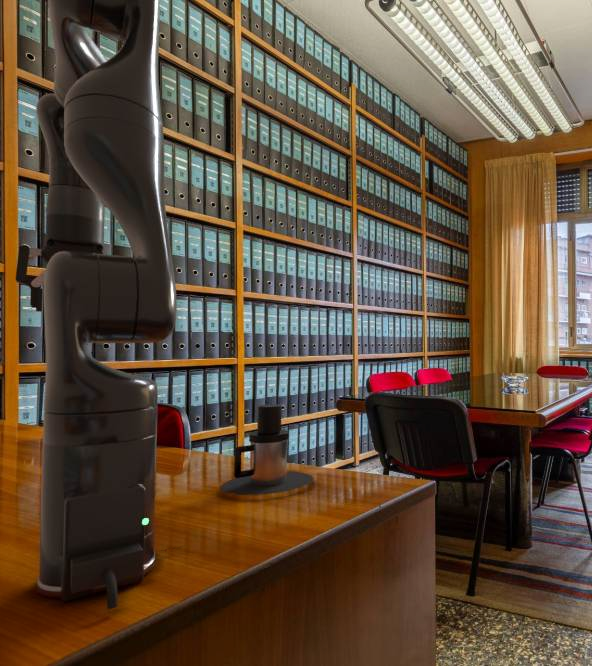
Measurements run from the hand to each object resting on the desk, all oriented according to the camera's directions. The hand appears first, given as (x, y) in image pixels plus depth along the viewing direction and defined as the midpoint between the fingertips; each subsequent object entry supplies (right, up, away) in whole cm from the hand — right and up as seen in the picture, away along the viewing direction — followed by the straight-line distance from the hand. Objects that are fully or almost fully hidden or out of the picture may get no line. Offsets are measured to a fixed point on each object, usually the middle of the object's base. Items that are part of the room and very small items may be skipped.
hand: (73, 312), depth 84 cm
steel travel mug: (+33, -28, -2) cm, 43 cm away
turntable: (+33, -29, -1) cm, 44 cm away
